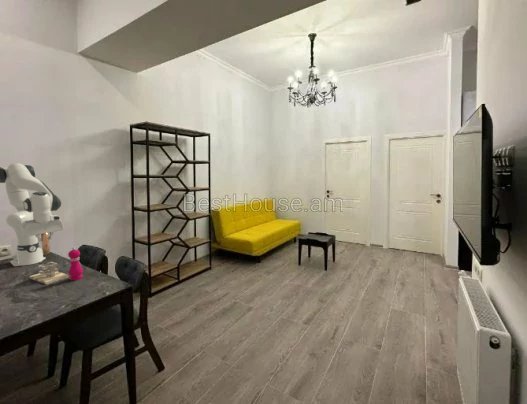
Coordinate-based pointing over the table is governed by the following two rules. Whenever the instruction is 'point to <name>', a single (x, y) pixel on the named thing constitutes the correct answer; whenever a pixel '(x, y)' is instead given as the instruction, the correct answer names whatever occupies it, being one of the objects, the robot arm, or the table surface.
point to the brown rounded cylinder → (45, 243)
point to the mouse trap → (48, 273)
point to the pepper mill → (75, 265)
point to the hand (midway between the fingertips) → (45, 240)
